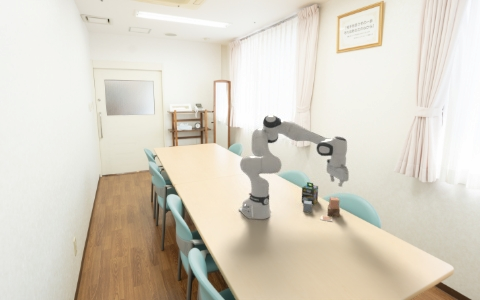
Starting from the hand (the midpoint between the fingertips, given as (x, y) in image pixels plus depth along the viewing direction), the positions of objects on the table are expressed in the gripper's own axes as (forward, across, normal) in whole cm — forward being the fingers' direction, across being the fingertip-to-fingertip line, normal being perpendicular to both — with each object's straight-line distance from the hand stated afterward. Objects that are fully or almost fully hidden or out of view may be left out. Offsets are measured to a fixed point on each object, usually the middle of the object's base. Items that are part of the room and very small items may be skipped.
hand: (336, 183), depth 168 cm
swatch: (+21, -5, +7) cm, 23 cm away
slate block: (+21, +9, +14) cm, 27 cm away
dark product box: (+22, +23, +6) cm, 32 cm away
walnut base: (+22, 0, 0) cm, 22 cm away
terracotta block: (+16, +1, 0) cm, 17 cm away
